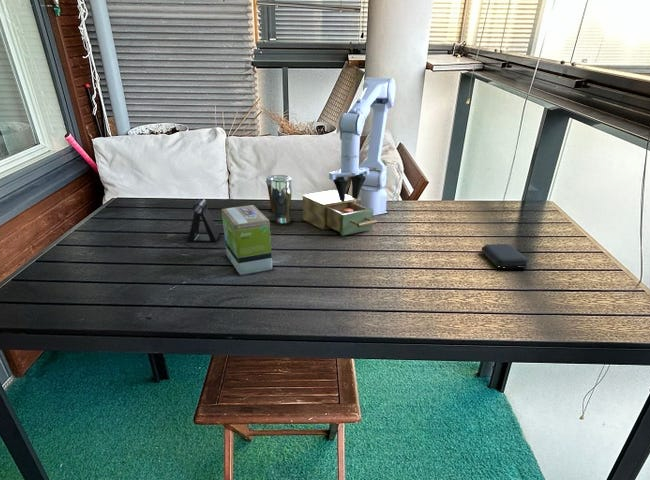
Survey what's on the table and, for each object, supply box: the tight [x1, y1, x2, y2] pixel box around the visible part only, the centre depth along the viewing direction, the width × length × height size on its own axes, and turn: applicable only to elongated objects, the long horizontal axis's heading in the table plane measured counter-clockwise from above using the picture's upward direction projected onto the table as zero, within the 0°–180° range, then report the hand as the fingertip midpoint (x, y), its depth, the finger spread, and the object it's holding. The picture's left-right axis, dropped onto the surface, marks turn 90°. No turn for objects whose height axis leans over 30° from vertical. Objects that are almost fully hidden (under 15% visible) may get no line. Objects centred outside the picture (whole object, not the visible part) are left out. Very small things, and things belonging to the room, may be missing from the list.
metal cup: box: [265, 174, 290, 213], centre depth 182 cm, size 10×10×12 cm
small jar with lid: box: [342, 208, 354, 214], centre depth 164 cm, size 4×4×5 cm
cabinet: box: [302, 189, 357, 231], centre depth 172 cm, size 14×14×9 cm
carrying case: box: [481, 243, 530, 270], centre depth 143 cm, size 11×3×15 cm
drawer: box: [325, 202, 377, 237], centre depth 162 cm, size 18×12×7 cm
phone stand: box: [187, 198, 220, 243], centre depth 156 cm, size 9×6×12 cm, turn 88°
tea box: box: [221, 204, 273, 276], centre depth 137 cm, size 15×10×15 cm
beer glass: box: [271, 176, 293, 226], centre depth 169 cm, size 7×7×15 cm
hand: (348, 199), depth 160 cm, fingers open, 5 cm apart
